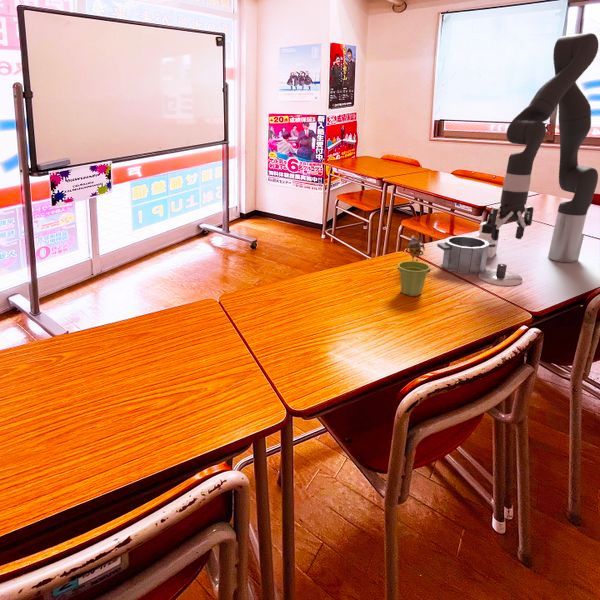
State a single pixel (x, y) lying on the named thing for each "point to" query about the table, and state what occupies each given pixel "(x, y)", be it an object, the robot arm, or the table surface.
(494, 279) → the lid
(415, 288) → the plant pot
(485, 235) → the medicine bottle
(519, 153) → the robot arm
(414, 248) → the robot figurine
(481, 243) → the pot
